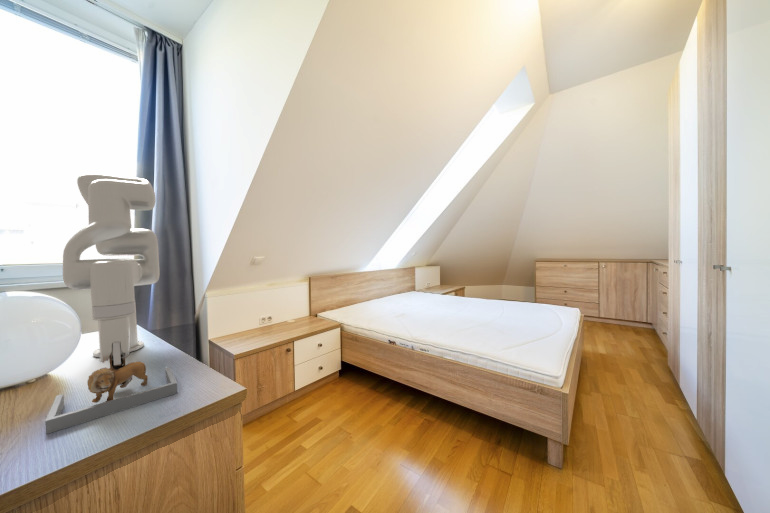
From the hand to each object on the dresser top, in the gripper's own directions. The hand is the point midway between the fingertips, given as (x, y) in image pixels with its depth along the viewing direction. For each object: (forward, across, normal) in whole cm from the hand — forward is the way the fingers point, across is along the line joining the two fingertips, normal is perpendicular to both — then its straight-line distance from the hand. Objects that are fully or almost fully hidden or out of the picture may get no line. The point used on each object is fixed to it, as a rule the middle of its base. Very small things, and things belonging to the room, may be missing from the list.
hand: (119, 383), depth 68 cm
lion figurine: (+1, +4, 0) cm, 5 cm away
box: (+2, +6, 0) cm, 6 cm away
